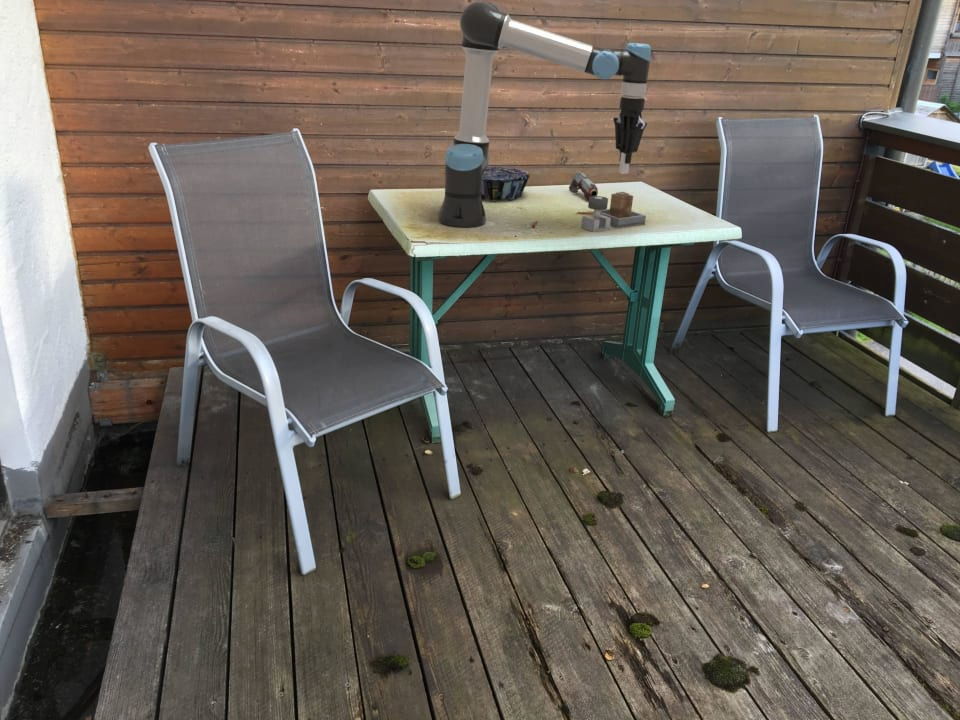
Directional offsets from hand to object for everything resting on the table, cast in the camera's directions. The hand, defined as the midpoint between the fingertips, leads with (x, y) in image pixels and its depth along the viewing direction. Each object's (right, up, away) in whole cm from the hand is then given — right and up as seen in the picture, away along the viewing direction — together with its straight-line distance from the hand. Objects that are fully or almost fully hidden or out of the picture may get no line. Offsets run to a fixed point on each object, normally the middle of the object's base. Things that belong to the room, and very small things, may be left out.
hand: (623, 173), depth 250 cm
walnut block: (0, -14, +7) cm, 15 cm away
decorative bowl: (-42, 0, +36) cm, 55 cm away
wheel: (-9, -15, -3) cm, 18 cm away
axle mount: (-9, -18, -2) cm, 21 cm away
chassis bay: (0, -15, +7) cm, 16 cm away
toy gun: (-8, +1, +40) cm, 41 cm away
